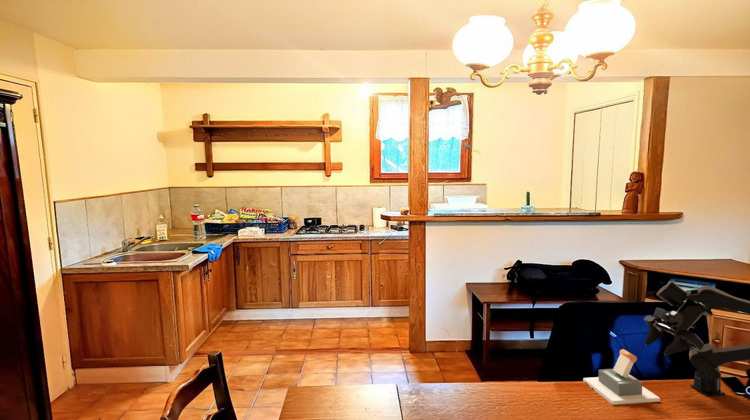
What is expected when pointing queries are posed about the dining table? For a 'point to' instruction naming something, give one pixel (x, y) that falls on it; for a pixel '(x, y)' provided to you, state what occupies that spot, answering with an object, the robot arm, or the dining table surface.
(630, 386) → the box
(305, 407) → the dining table surface
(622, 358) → the breaker lever
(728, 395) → the dining table surface
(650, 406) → the dining table surface
